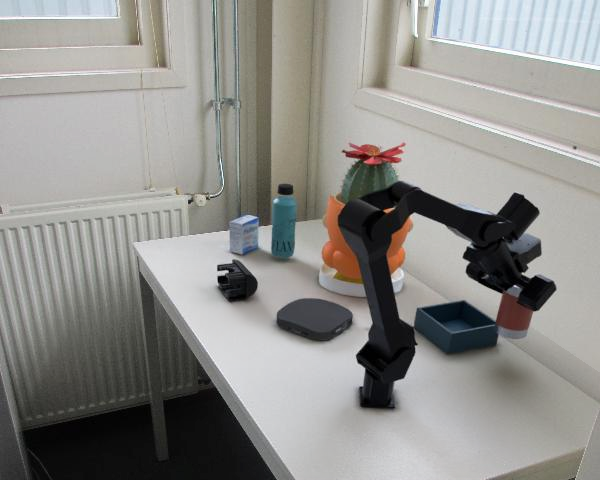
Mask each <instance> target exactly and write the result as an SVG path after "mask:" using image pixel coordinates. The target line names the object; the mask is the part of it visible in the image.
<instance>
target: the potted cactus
mask: <svg viewBox="0 0 600 480" xmlns="http://www.w3.org/2000/svg"><path fill="white" fill-rule="evenodd" d="M406 144H407V143H406V142H405V141H403V142H402V143H401V144H399V145H397V146H394V147H392V148H389V149H386V150H384V151H382V150H383V149H382V145H381V146H380V145H379V146H377V145H376V144H367V143H366V144H365V143H364V144H362V145H360V146H359V145H356V144H354V143H352V142H348V145H349V147H350V148H351V149H353V150H345V149H342V150H341V153H343V154H345V157H346V158H349V159H354V160H353V162H349V163H350V164H349V165H350V168H347V172H346V173H344V174H343V173H342V176H343V177H344V179H343V178H342V177H341V178H340V179H341V183H340V184H341V185H340V186H339V188H340V189H339V190H338V193H335V194H334V195H333V196H332V195H329V197H328V198H329V199H328V202H327V207H326V208H327V209H326V213H325V214H324V215H323V217H322V225H323V227H324V228H325V229H326V231H327V235H328V238H329V240H328V241H327V242H325V244H324V245H323V247H322V250H321V258H322V261H323V264H321V265H320V267H319V276H318V277H319V278H318V283H319V284H320V286H321V287H323V288H324V289H326V290H328V291H331V292H333V293H335V294H339V295H344V296H349V297H357V298H366V294H365V289H364V285H363V281H362V277H361V273H360V269H359V264H358V260H357V257H356V256H355V254H354V253H353V251H352V250H351V248H350V247H349V246H348V244H347V243H346V241H345V240H344V237H343V235H342V233H341V231H340V229H339V226H338V215H339V214H340V212H341V210H342V208H343V207H344V206H345V204H347V203H348V202H349V201H351V200H354V199H358V198H359V197H361V196H362V195H364V194H366V193H369V192H373V191H376V190H380V189H383V188H387V187H388V186H390V185H392V184H393V183H395V182H397V181H401V179H399V177H401V175H399V174H400V173H399V171H398V170H399V169H397V168H395V167H396V165H395V164H399V163H402V157H398V155H402V154H404V152H405V151H403V150H402V149H401V148H403V147H406ZM399 148H400V149H399ZM353 163H354V164H353ZM397 174H398V175H397ZM395 207H396V206H394V207H393V208H390V209H387V210H383V211H384V212H386V213H388V212H390V211H391V210H393V209H395ZM414 226H415V222H414V219H413V218H411V215H410V216H409V217H408V219H407V221H406V222H405V224H404V226H403V227H402V228H401V229H400V230H399V231H397V232H395V233H394V234H392V242H391V245H390V247H389V249H388V251H387V259H388V264H389V269H390V274H391V279H392V284H393V289H394V293H395V294H397V293H399V292H400V291H401V290H402V289H403V284H404V276H405V274H404V271H403V270H402V269H401V267H402V266H403V265H404V262H405V260H406V251H405V249H404V247H403V245H404V243H405V242H406V238H407V237H408V236H407V235H408V233H410V232H412V230H413V228H414Z"/></svg>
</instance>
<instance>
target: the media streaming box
mask: <svg viewBox="0 0 600 480" xmlns="http://www.w3.org/2000/svg"><path fill="white" fill-rule="evenodd" d="M353 318H354V313H353V312H352V311H351V310H350V309H349V308H348V307H345V306H344V305H341V304H338V303H336V302H333V301H330V300H326V299H324V298H323V299H322V298H317V297H302V298H298V299H295V300H293V301H291V302H289V303H287V304H285V305H284V306H282V307H281V308H280V309H279V310H278V311H277V312H276V320H275V321H276V325H277V326H278V327H279V328H281V329H283V330H286V331H288V332H291V333H293V334H296V335H300V336H302V337H304V338H308V339H311V340H316V341H327V340H330V339H333V338H334V337H336V336H337V335H339V334H340V333H342V332H344V331H346V330H347V329H348V328H349V327H350V326H352V325H353Z"/></svg>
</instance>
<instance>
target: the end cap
mask: <svg viewBox="0 0 600 480" xmlns="http://www.w3.org/2000/svg"><path fill="white" fill-rule="evenodd" d="M216 271H217V272H224V271H227V272H225V273H224V274H220V275H216V281H217V288H218V290H219V291H220V292H221V294H222V295H223V297H224V298H225V299H226V300H227V301H228V302H229V303H234V302H241V301H246V300H249V298H251V297H252V296H253V295H255V293H257V290H258V287H259V281H258V279H257V277H255V276H254V274H253V273H252V272H251V271H250V270H249V269H248V267H246V266H245V265H244V264H243V262H242V261H240V260H238V259H235V258H232V260H231V262H229V263H221V264H217V265H216Z"/></svg>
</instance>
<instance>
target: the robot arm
mask: <svg viewBox="0 0 600 480" xmlns="http://www.w3.org/2000/svg"><path fill="white" fill-rule="evenodd" d="M394 206H396V207H395V209H393V210H391V211H390V212H388V213H386V212H384V211H383V210H387V209H390V208H393V207H394ZM413 214H417V215H419V216H421V217H424V218H427V219H429V220H432V221H434V222H436V223H440V224H441V225H444V226H445V227H446V228H447V230H449V231H450V232H451V233H453V234H454V235H455V236H456V237H459V238H461V239H464V240H465V241H467V242H469V243H470V244H469V245H467V246H466V248H465V251H464V252H463V254H462V259H463V260H465V261H466V262H468V264H466V268H465V274H466V275H467V277H468V278H469V279H471V280H473V281H475V282H477V283H478V284H479V285H482V286H483V287H485V288H488V289H489V290H492V291H495V292H496V293H498V294H501V295H502V293H503V290H504V291H507V290H508V289H511V288H512V287H513V286H514V285H515V286H517V287H519V288H521V289H523V290H522V291H521V292H520V293H519V297H518V301H517V303H518V304H520V305H521V306H523V307H525V308H528V309H530V310H532V311H533V313H535V312H538V311H540V310H541V308H543V306H544V305H545V304H546V303H547V302H548V300H550V298H551V297H552V296H553V295H554V293H556V291H557V285H556V283H555V281H554V280H552V279H551V278H548V277H546V276H544V275H542V274H535V275H534V276H532V277H529V276H526V275H524V274H525V273H526V272H527V271H528V270H529V269H530V268H529V266H528V264H530V263H532V262H533V261H534V260H536V259H538V258H540V257H541V256H542V254H543V253H542V240H541V238H539V237H536V236H534V235H532V234H529V233H527V232H526V231H527V230H528V229H529V228H530V227H531V225H532V224H533V223H534V222H535V220H537V218H538V217H539V216H540V214H541V213H540V209H539V207H537V206H536V205H535V204H533V202H532V201H530V200H529V199H528V198H526V197H525V195H524V194H522V193H520V192H518V191H514V192H513V193H512V194H511V195H510V197H509V198H508V200H507V201H506V202H505V204H504V205H503V206H502V207H501V208H500V210H499V211H498V212H497V213H496V214H495V213H494V212H491V211H487V210H484V209H481V208H480V207H477V206H475V205H472V204H467V203H466V204H465V203H452V202H449V201H448V200H445V199H443V198H440V197H438V196H436V195H433V194H432V193H429V192H427V191H424V190H423V189H422V188H421V187H419V186H417V185H415V184H413V183H410V182H408V181H405V180H400V181H397V182H395V183H393V184H392V185H390V186H388V187H387V188H383V189H380V190H376V191H373V192H369V193H366V194H364V195H362V196H361V197H359V198H358V199H354V200H351V201H349V202H348V203H347V204H345V206H344V207H343V208H342V210H341V212H340V214H339V215H338V226H339V229H340V231H341V233H342V235H343V237H344V240H345V241H346V243H347V244H348V246H349V247H350V248H351V250H352V251H353V253H354V254H355V256H356V257H357V260H358V264H359V269H360V273H361V277H362V281H363V285H364V289H365V294H366V297H365V298H366V301H367V306H368V310H369V315H370V319H371V321H372V322H371V326H370V328H369V330H368V333H367V334H368V335H367V337H368V338H367V339H368V340H367V341H366V342H365V344H364V345H363V346H362V347H361V348H360V349H359V350H358V351H357V353H356V354H355V359H356V363H357V364H358V365H359V366H361V367H363V368H364V375H363V383H362V386H359V387H358V395H359V405H360V407H362V408H374V409H375V408H376V409H395V408H396V401H395V394H394V389H395V382H398V381H401V380H403V379H405V377H406V376H407V373H408V371H409V369H410V368H411V367H410V366H411V364H412V362H413V360H414V357H415V355H416V347H417V346H418V345H419V343H418V342H417V341H416V331H415V328H414V326H412V325H411V324H409V323H408V322H406V321H405V320H403V319H402V318H400V313H399V308H398V304H397V299H396V295H395V294H396V293H394V289H393V284H392V279H391V274H390V269H389V264H388V259H387V251H388V249H389V247H390V245H391V242H392V234H394V233H395V232H397V231H399V230H400V229H401V228H402V227H403V226H404V224H405V222H406V221H407V219H408V217H409V216H410V217H411V215H413Z"/></svg>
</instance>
